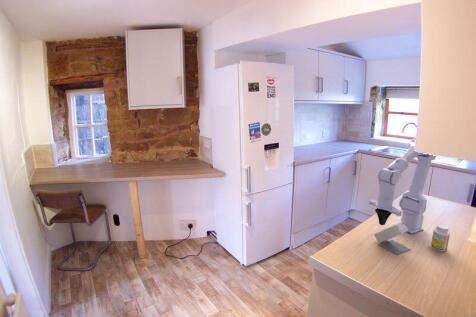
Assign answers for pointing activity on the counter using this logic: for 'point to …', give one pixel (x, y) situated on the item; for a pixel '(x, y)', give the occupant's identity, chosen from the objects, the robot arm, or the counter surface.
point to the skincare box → (391, 232)
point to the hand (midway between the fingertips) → (382, 224)
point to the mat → (394, 247)
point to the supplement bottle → (440, 238)
